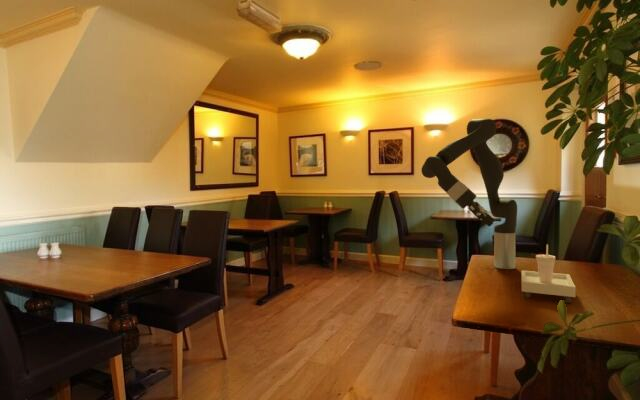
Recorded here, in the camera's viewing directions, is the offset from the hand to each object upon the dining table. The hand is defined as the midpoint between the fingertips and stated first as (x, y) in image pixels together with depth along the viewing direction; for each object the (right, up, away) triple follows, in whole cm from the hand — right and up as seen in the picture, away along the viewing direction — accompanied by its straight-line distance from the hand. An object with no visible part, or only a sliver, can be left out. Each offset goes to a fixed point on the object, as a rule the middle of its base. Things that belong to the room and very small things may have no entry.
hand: (492, 223), depth 146 cm
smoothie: (+16, -21, -9) cm, 28 cm away
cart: (+16, -26, -8) cm, 32 cm away
